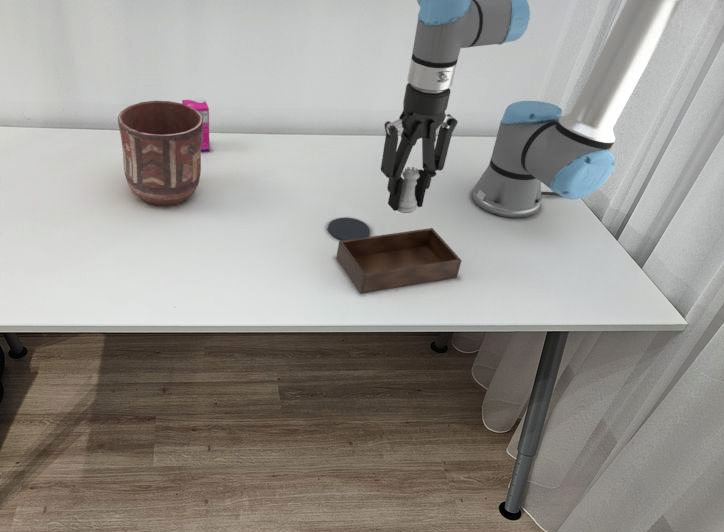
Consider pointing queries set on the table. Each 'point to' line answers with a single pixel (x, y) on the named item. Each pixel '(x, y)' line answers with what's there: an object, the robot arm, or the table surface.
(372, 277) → the tray
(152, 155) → the pottery
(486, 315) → the table surface
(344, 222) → the coaster
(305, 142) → the table surface
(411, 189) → the rook chess piece
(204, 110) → the supplement box
